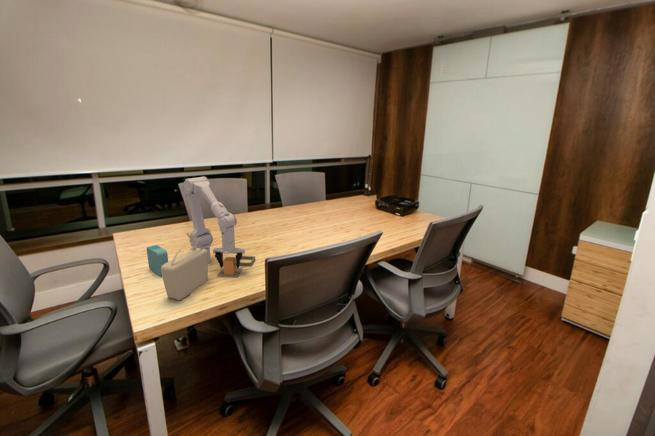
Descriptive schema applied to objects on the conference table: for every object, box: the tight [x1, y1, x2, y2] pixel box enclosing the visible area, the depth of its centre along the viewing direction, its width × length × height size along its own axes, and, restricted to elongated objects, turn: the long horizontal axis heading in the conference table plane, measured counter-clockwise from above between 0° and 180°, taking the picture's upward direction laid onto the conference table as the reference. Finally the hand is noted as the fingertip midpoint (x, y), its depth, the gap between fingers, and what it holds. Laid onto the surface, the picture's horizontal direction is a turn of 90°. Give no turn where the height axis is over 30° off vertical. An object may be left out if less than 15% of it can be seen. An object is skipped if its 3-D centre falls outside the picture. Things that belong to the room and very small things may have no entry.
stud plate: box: [216, 267, 244, 279], centre depth 154 cm, size 10×10×4 cm
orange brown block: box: [223, 256, 237, 275], centre depth 154 cm, size 4×4×7 cm
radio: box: [161, 231, 209, 301], centre depth 136 cm, size 22×8×25 cm, turn 163°
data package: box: [146, 244, 169, 277], centre depth 153 cm, size 12×4×12 cm, turn 50°
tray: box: [239, 255, 256, 267], centre depth 166 cm, size 9×9×2 cm
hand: (229, 267), depth 154 cm, fingers open, 7 cm apart
